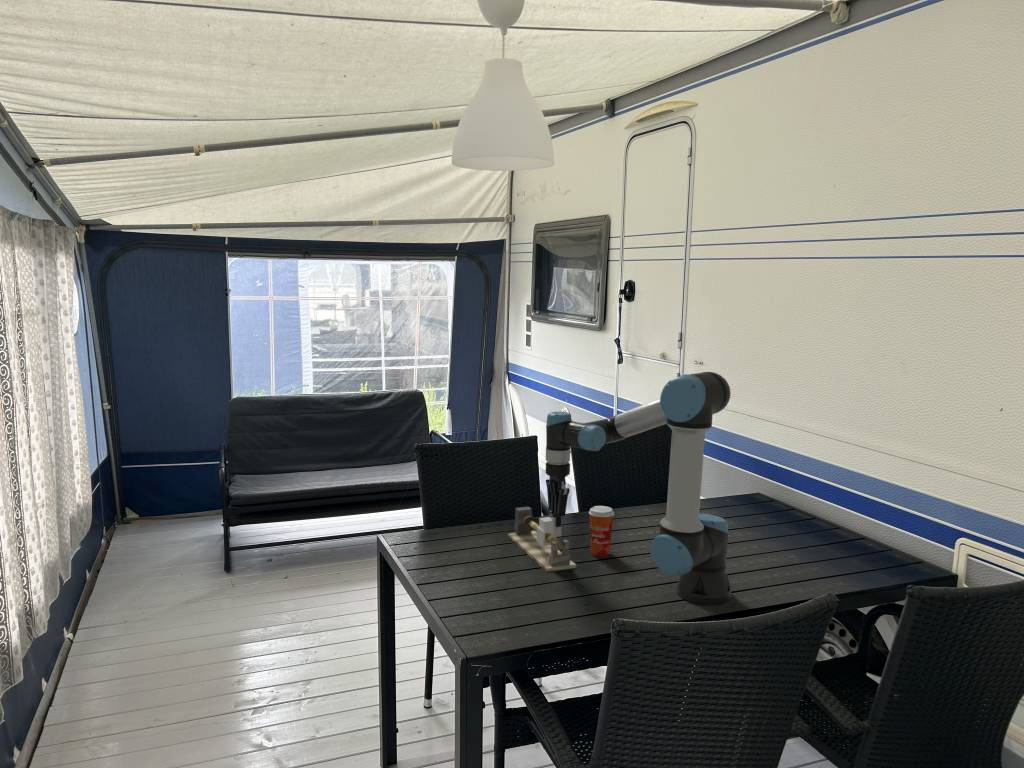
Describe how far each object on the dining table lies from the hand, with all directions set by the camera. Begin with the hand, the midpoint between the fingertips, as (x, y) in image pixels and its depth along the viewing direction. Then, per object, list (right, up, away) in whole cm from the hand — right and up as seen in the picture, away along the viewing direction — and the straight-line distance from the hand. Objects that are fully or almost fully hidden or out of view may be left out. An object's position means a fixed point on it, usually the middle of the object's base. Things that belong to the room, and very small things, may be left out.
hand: (556, 535), depth 240 cm
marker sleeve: (-3, -4, +8) cm, 9 cm away
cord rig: (-5, -8, +13) cm, 16 cm away
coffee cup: (+15, -8, +12) cm, 21 cm away
